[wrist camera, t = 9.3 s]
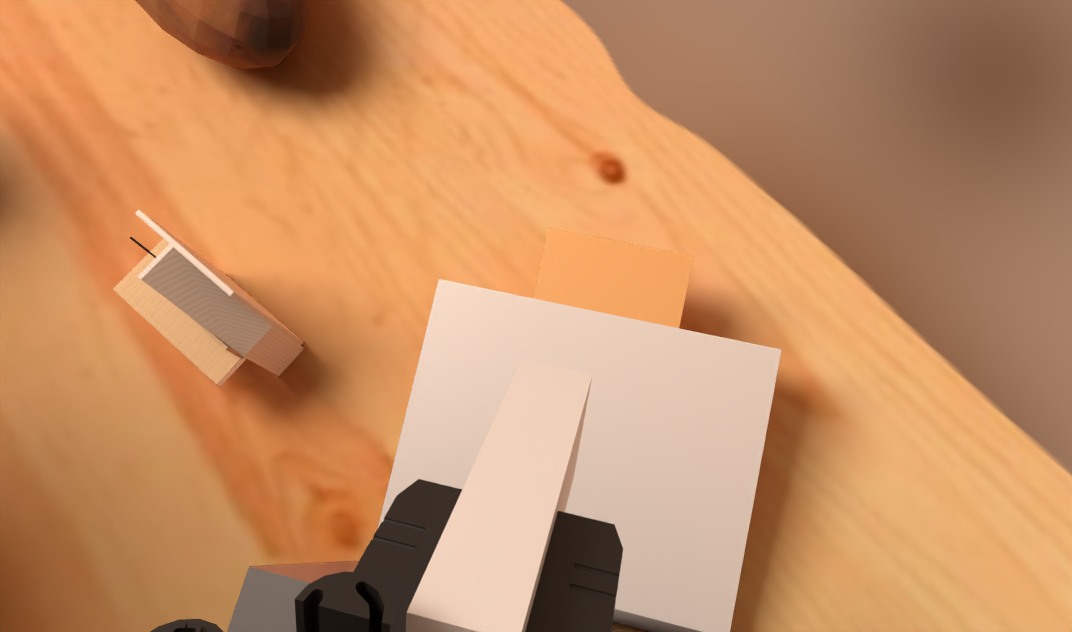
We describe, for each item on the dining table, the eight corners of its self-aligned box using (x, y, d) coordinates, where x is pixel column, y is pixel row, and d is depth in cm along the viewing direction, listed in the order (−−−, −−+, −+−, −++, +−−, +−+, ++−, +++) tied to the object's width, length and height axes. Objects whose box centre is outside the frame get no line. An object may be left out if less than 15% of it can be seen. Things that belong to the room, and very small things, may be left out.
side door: (725, 655, 27) (794, 275, 29) (369, 561, 29) (455, 210, 31) (720, 645, 28) (788, 281, 30) (379, 555, 30) (461, 218, 32)
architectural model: (259, 404, 33) (169, 366, 26) (161, 315, 35) (52, 256, 28) (311, 347, 34) (237, 295, 27) (212, 262, 36) (118, 191, 28)
